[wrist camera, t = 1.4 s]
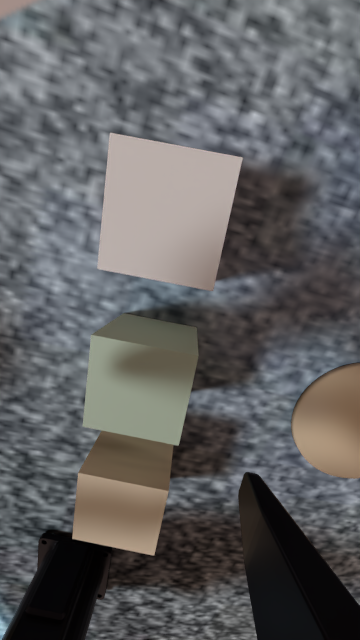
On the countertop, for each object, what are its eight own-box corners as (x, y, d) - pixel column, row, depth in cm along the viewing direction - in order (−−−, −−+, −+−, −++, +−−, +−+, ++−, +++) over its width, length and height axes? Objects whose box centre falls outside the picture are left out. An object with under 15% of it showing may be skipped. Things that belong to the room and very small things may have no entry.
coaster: (392, 482, 17) (398, 489, 16) (275, 459, 17) (278, 464, 16) (448, 376, 15) (457, 380, 14) (314, 350, 15) (318, 353, 14)
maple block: (164, 477, 18) (154, 555, 13) (104, 465, 18) (72, 538, 13) (175, 426, 17) (168, 490, 12) (111, 413, 17) (78, 472, 12)
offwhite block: (205, 282, 14) (212, 291, 9) (129, 268, 14) (97, 268, 9) (224, 198, 13) (242, 157, 8) (140, 182, 13) (109, 132, 8)
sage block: (182, 391, 16) (178, 445, 11) (115, 378, 16) (82, 426, 11) (196, 326, 15) (198, 356, 10) (124, 312, 15) (91, 334, 10)
